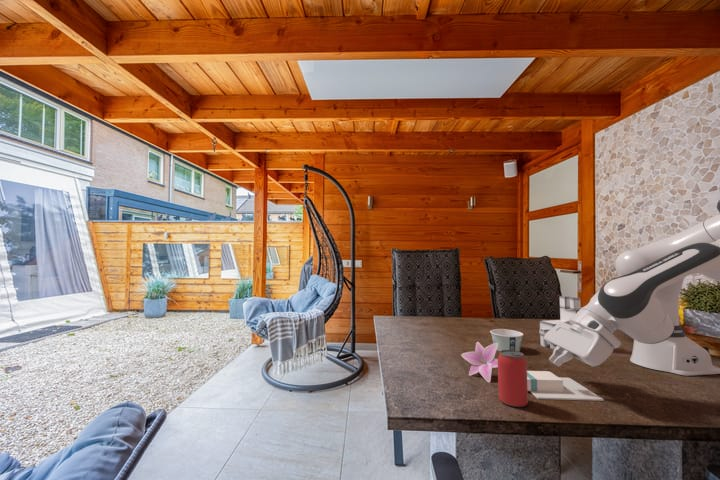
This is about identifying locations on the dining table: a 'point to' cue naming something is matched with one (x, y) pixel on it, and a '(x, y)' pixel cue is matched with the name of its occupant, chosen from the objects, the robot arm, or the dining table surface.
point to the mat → (568, 392)
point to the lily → (482, 360)
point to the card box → (543, 381)
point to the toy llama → (567, 311)
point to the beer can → (512, 378)
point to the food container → (507, 339)
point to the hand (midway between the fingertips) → (553, 363)
